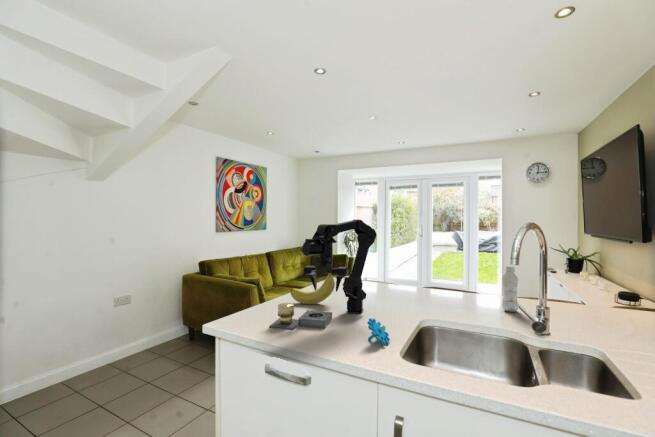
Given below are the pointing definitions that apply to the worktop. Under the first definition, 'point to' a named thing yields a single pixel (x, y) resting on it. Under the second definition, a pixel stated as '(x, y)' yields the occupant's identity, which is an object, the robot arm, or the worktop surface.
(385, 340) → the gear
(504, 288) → the plastic bottle
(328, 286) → the banana
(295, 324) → the mat
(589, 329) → the worktop surface
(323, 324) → the housing
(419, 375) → the worktop surface
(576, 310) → the worktop surface
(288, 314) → the end cover
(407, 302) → the worktop surface
